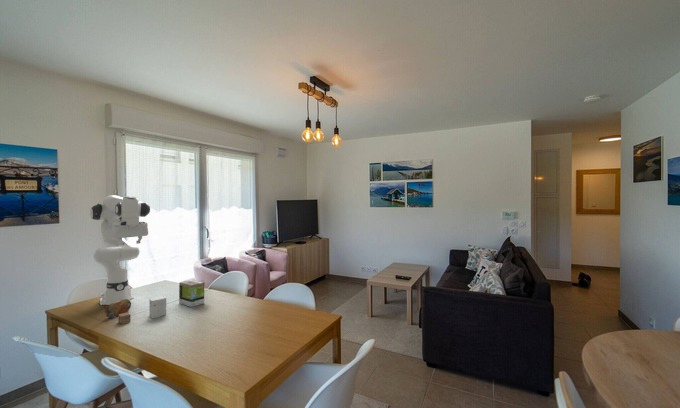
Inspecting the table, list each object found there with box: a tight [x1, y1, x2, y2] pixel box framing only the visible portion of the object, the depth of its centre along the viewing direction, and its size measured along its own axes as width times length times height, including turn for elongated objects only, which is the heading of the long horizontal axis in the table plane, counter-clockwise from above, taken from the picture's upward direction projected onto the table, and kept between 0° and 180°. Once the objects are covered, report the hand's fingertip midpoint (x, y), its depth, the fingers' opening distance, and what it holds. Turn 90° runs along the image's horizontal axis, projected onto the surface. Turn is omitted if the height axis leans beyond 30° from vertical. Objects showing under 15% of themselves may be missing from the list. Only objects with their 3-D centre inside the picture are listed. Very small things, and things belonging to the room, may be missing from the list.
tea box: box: [178, 279, 205, 308], centre depth 198 cm, size 15×10×15 cm, turn 58°
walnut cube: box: [118, 311, 131, 325], centre depth 166 cm, size 4×4×4 cm
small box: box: [149, 295, 167, 319], centre depth 176 cm, size 8×6×10 cm
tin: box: [104, 299, 132, 319], centre depth 177 cm, size 15×3×8 cm, turn 168°
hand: (130, 244), depth 179 cm, fingers open, 8 cm apart
